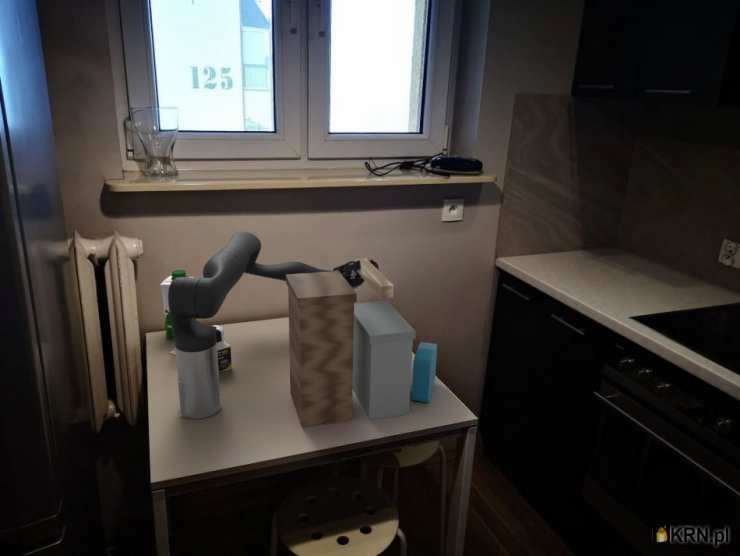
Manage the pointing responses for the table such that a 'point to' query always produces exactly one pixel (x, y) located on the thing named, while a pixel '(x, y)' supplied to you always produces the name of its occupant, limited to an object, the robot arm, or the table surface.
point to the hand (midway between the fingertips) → (365, 263)
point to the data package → (424, 372)
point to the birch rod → (375, 279)
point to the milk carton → (165, 289)
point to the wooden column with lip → (321, 346)
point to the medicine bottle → (222, 349)
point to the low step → (382, 359)
